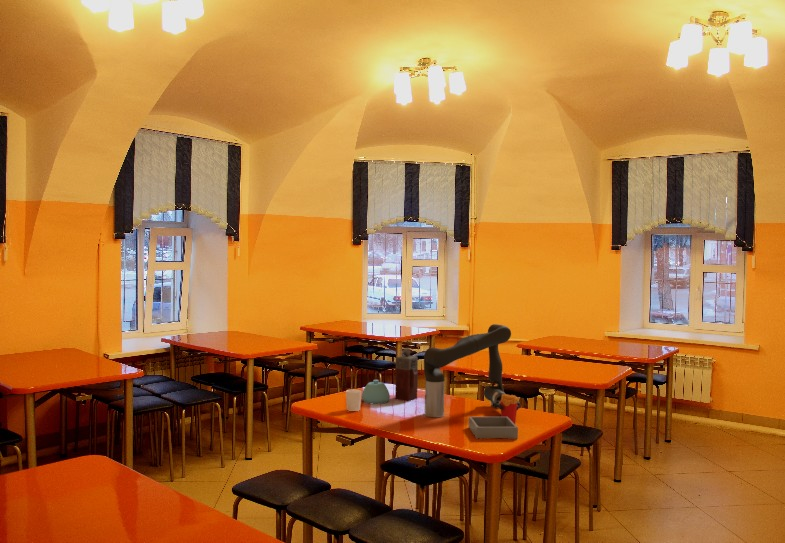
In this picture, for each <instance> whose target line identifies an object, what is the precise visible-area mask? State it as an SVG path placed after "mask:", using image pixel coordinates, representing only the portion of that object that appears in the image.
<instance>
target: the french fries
mask: <svg viewBox="0 0 785 543" xmlns="http://www.w3.org/2000/svg"><path fill="white" fill-rule="evenodd" d="M501 400H502V401H500V404H501V405H503V410H501V409H500V417H508V418H509V419H510V420H511V421H512V422H513V423H514V424H516V421H517V411H518V410H517V401H518V397H517V396H516V395H515V394H514V395H513V394H511V395H510V394H508V393H507V394H506V393H505V395H504V394H502V399H501Z"/></svg>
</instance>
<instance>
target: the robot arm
mask: <svg viewBox="0 0 785 543" xmlns="http://www.w3.org/2000/svg"><path fill="white" fill-rule="evenodd" d="M511 336H512V331H511V329H510V328H509V327H508V326H506V325H502V324H496V323H495V324H494V323H493V324H491V325H490V326H489V327H488V329H487V332H486V333H485V332H483V333H476V334H471V335H468V336H465V337H462V338H460V339H459V340H458V341H457V342H456V343H455V344H454V345H453V346H449V347H446V348H436V347H428V349H426V350H425V353H424V354H423V373H424V378H425V394H424V415H425V417H429V418H442V417H444V415H445V414H444V413H445V375H444V373H442V372H443V371H441V369H440V368H444V367H445V366H447V365H449V364H451V363H453V362H455V361H458V360H461V359H463V358H465V357H467V356H468V357H469V356H472V355H474V354H476V353H478V352H480V351H483V350H485V349H488V355H489V356H488V360H489V364H488V366H489V367H488V377H487V379H488V381H490V382H492V383H495V384H496V385H487V386H485V387H484V389H483V395H484V396H483V397H485V398H484V399H486V400H488V401H490V407H492V408H493V409H499V410H500V411H501V410H503V405H501V404H500V401H502V400H501V399H502V394H504V395H505V394H506V393H505V391H504V385H503V362H502V358H501V355H500V352H499V345H500V344H505V343H506V342H508V341H509V340H510V338H511ZM519 409H521V402H520V401H519V400H517V411H518V410H519Z"/></svg>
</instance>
